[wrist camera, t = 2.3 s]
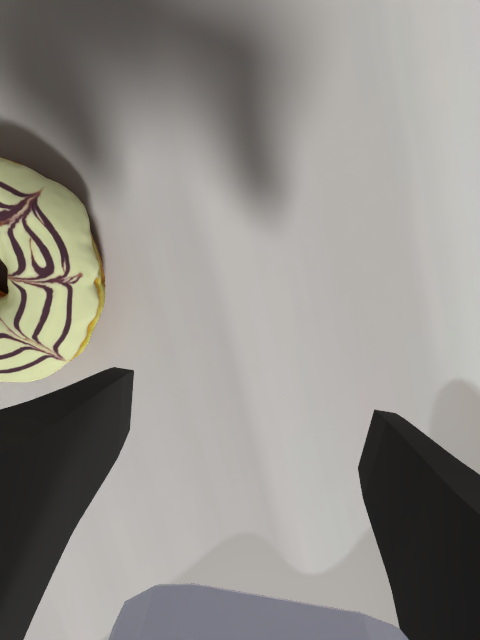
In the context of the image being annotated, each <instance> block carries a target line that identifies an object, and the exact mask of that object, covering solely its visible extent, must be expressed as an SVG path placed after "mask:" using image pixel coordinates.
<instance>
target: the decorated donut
mask: <svg viewBox="0 0 480 640" xmlns="http://www.w3.org/2000/svg"><path fill="white" fill-rule="evenodd" d="M0 259H1V261H2V262H3V263H4V264H5V265H6V267H7V269H8V280H7V285H8V289H9V293H8V294H7V293H5V292H2V291H1V290H0V382H31V381H35V380H39V379H42V378H45V377H47V376H49V375H51V374H52V373H54V372H56V371H57V370H59V369H60V368H62V367H63V366H64V365H65V364H66V363H68V362H69V361H71V360H72V359H74V358H75V357H76V356H78V355H79V354H80V353H81V352H82V351H83V350H84V349H85V347H86V346H87V344H88V343H89V340H90V337H91V334H92V332H93V330H94V327H95V325H96V323H97V321H98V319H99V317H100V315H101V312H102V311H103V307H104V299H105V276H104V271H103V267H102V261H101V257H100V255H99V251H98V249H97V246H96V243H95V241H94V239H93V236H92V234H91V232H90V222H89V217H88V214H87V211H86V209H85V206H84V205H83V204H82V202H81V201H80V200H79V199H78V198H77V197H76V196H75V195H74V194H73V193H72V192H71V191H70V190H68V189H67V188H65V187H64V186H62V185H61V184H59V183H57V182H55V181H53V180H50V179H47V178H45V177H44V176H42V175H41V174H39V173H37V172H36V171H34V170H32V169H30V168H28V167H26V166H24V165H22V164H19V163H17V162H15V161H11V160H8V159H5V158H2V157H0Z"/></svg>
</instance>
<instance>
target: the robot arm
mask: <svg viewBox="0 0 480 640" xmlns="http://www.w3.org/2000/svg"><path fill="white" fill-rule="evenodd" d="M133 377H134V370H128V369H122V368H116V367H113V368H110V369H107V370H104V371H102V372H99V373H97V374H95V375H92V376H90V377H88V378H86V379H83V380H81V381H79V382H76V383H74V384H72V385H69V386H67V387H65V388H62V389H59V390H57V391H54V392H52V393H49V394H46V395H44V396H41V397H38V398H36V399H33V400H30V401H27V402H24V403H21V404H18V405H15V406H11V407H8V408H4V409H1V410H0V640H23V639H24V637H25V635H26V632H27V630H28V628H29V625H30V623H31V621H32V618H33V616H34V614H35V612H36V609H37V607H38V605H39V603H40V601H41V598H42V596H43V594H44V592H45V590H46V587H47V585H48V583H49V581H50V579H51V577H52V574H53V572H54V570H55V568H56V566H57V564H58V562H59V560H60V558H61V555H62V553H63V551H64V549H65V547H66V545H67V543H68V541H69V539H70V537H71V535H72V533H73V531H74V529H75V528H76V526H77V524H78V522H79V520H80V519H81V517H82V516H83V514H84V512H85V511H86V509H87V507H88V506H89V504H90V503H91V501H92V499H93V498H94V496H95V494H96V493H97V491H98V490H99V488H100V486H101V485H102V483H103V481H104V480H105V478H106V476H107V475H108V473H109V471H110V470H111V468H112V466H113V465H114V463H115V461H116V460H117V458H118V456H119V454H120V451H121V449H122V447H123V445H124V442H125V440H126V437H127V435H128V433H129V430H130V419H131V405H132V391H133ZM358 471H359V477H360V484H361V489H362V495H363V500H364V503H365V506H366V510H367V513H368V516H369V519H370V522H371V526H372V529H373V532H374V535H375V538H376V541H377V544H378V547H379V550H380V553H381V556H382V560H383V563H384V566H385V569H386V572H387V575H388V579H389V583H390V586H391V590H392V594H393V599H394V603H395V608H396V613H397V617H398V622H399V627H400V629H399V628H397V627H395V626H393V625H391V624H389V623H386V622H383V621H381V620H378V619H376V618H373V617H371V616H368V615H366V614H363V613H360V612H356V611H350V610H344V609H338V608H332V607H326V606H321V605H315V604H309V603H304V602H298V601H292V600H286V599H280V598H274V597H269V596H263V595H257V594H252V593H246V592H240V591H235V590H229V589H223V588H217V587H211V586H205V585H200V584H159V585H156V586H153V587H151V588H150V589H148V590H146V591H144V592H142V593H140V594H138V595H136V596H135V597H133V598H131V599H129V600H127V601H125V603H124V605H123V607H122V609H121V611H120V613H119V615H118V618H117V620H116V622H115V624H114V626H113V629H112V631H111V634H110V637H109V640H480V475H479V474H478V473H476V472H475V471H474V470H472V469H471V468H469V467H467V466H466V465H465V464H463V463H462V462H461V461H459V460H458V459H457V458H455V457H454V456H452V455H451V454H450V453H448V452H447V451H446V450H444V449H443V448H442V447H441V446H439V445H438V444H437V443H435V442H434V441H433V440H431V439H430V438H429V437H428V436H426V435H425V434H424V433H422V432H421V431H420V430H419V429H417V428H416V427H415V426H413V425H412V424H411V423H409V422H408V421H407V420H405V419H404V418H402V417H401V416H399V415H398V414H396V413H391V412H385V411H379V410H374V413H373V416H372V420H371V424H370V427H369V431H368V434H367V438H366V441H365V445H364V448H363V452H362V455H361V459H360V462H359V466H358Z"/></svg>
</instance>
